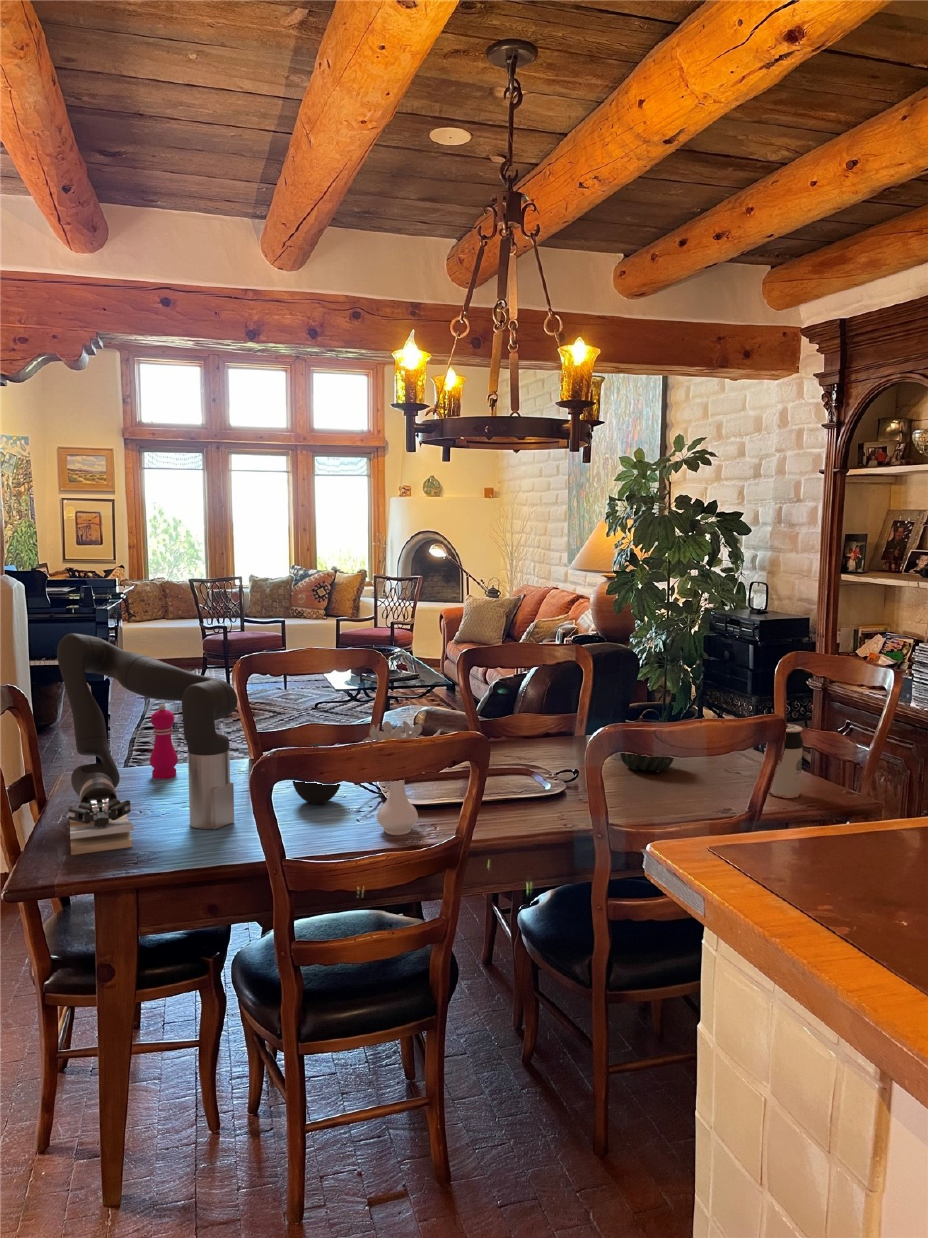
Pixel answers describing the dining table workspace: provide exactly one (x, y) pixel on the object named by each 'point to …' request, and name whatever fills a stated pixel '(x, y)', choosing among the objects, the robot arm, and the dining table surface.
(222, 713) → the robot arm
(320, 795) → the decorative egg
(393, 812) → the flower vase
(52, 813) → the dining table surface
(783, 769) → the travel mug
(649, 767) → the squash
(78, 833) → the white flat rectangular panel
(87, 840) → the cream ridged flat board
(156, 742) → the pepper mill
